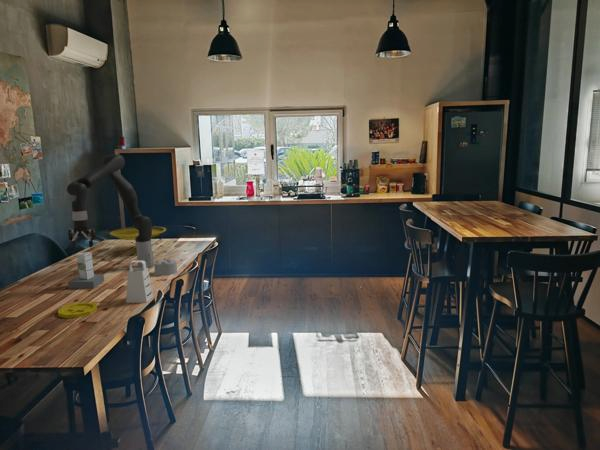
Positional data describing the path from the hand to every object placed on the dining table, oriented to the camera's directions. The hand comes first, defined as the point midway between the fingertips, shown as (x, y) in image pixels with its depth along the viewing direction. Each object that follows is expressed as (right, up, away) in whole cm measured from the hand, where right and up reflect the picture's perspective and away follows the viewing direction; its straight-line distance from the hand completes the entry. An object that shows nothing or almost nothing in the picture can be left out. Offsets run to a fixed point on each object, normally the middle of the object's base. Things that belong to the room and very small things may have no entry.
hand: (83, 247), depth 263 cm
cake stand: (+2, -7, +87) cm, 87 cm away
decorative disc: (+15, -29, -38) cm, 51 cm away
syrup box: (0, -18, +3) cm, 18 cm away
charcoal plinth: (0, -21, +4) cm, 22 cm away
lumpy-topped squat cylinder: (+39, -17, +26) cm, 50 cm away
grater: (+39, -26, -22) cm, 52 cm away
